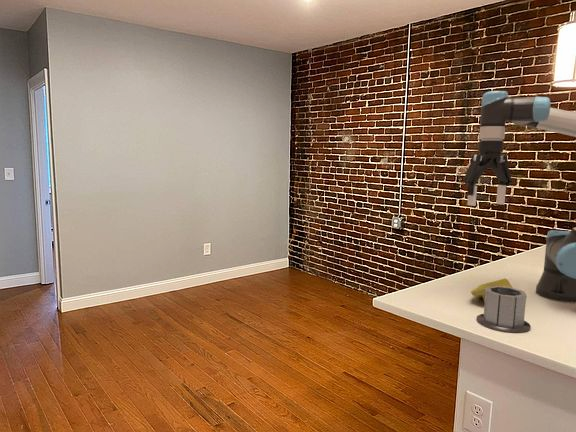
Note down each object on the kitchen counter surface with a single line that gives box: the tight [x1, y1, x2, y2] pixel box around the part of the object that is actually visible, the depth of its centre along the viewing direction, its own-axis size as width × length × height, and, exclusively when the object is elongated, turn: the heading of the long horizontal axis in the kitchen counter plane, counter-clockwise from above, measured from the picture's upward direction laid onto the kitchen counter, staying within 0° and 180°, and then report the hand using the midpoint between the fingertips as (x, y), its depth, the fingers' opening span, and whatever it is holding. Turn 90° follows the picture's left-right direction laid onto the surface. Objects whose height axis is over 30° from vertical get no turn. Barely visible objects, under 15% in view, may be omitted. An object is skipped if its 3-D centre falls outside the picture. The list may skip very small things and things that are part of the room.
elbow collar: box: [483, 286, 527, 329], centre depth 125 cm, size 10×10×9 cm
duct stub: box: [475, 313, 532, 334], centre depth 125 cm, size 14×14×6 cm
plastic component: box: [470, 278, 513, 303], centre depth 146 cm, size 20×7×10 cm
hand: (486, 205), depth 146 cm, fingers open, 13 cm apart
